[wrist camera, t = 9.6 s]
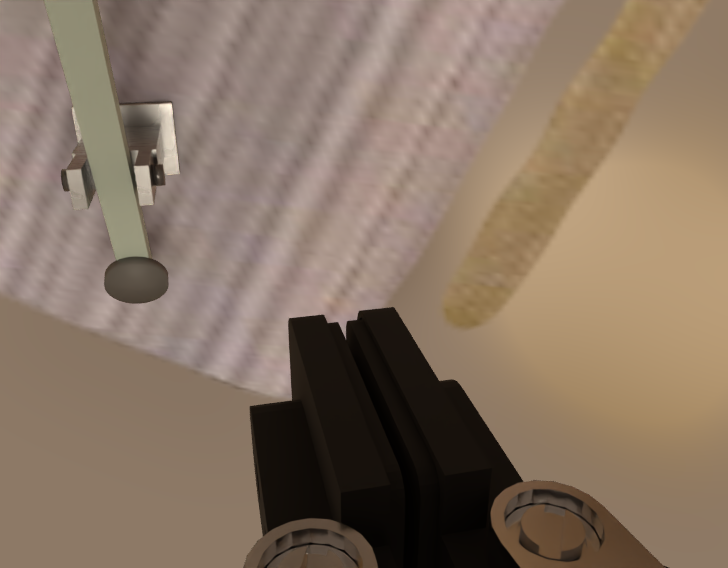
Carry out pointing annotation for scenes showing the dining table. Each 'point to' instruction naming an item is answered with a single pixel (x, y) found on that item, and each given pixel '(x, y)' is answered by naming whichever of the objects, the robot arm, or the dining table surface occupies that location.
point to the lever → (106, 148)
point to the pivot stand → (131, 153)
